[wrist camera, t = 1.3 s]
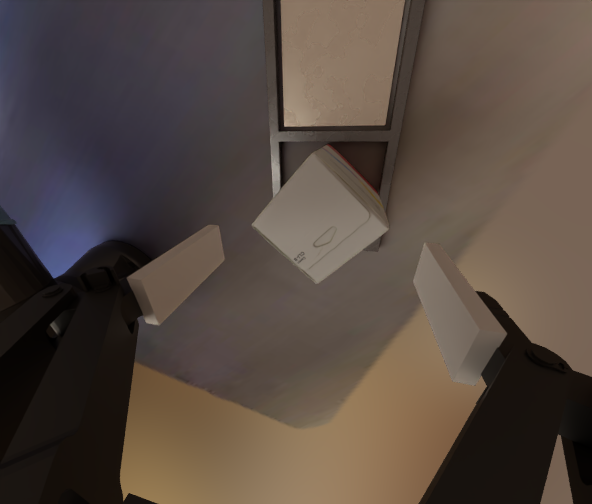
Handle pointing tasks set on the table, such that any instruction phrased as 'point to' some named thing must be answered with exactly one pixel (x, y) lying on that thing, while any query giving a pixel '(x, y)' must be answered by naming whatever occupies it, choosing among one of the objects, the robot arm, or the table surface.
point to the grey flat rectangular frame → (339, 73)
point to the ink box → (323, 215)
